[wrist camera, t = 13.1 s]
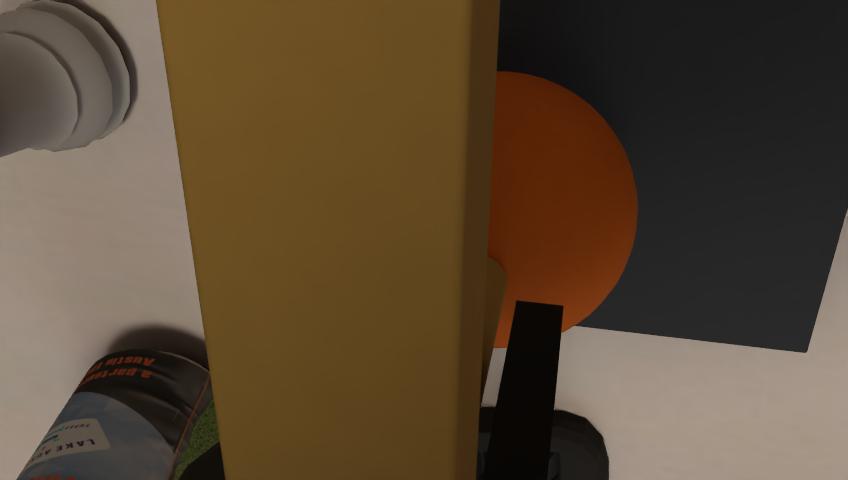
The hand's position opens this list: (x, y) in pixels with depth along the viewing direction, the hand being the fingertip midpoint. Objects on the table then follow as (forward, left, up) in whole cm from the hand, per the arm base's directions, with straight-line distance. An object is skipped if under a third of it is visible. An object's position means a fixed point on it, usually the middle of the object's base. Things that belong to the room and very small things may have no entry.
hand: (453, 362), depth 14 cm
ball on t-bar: (0, 0, -9) cm, 9 cm away
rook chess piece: (+14, -1, -11) cm, 18 cm away
